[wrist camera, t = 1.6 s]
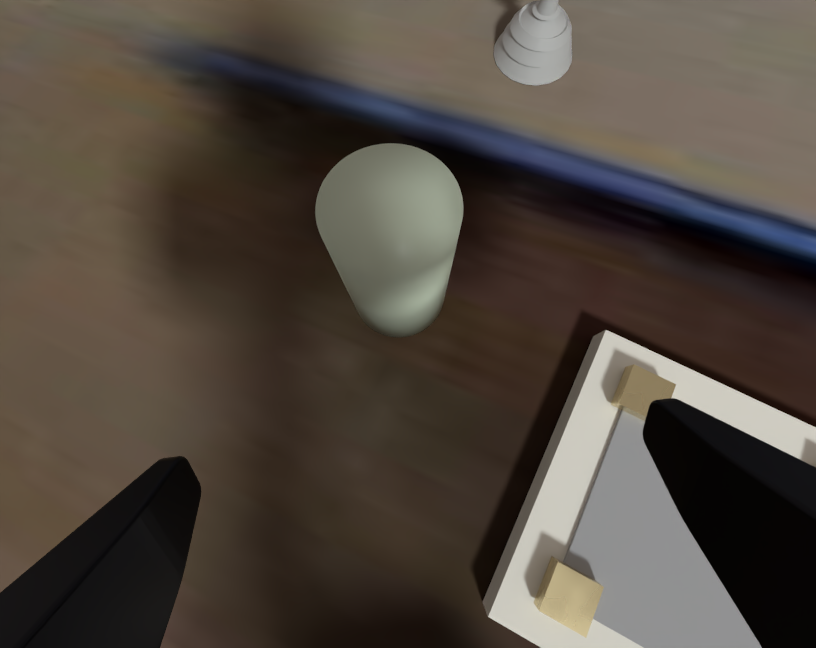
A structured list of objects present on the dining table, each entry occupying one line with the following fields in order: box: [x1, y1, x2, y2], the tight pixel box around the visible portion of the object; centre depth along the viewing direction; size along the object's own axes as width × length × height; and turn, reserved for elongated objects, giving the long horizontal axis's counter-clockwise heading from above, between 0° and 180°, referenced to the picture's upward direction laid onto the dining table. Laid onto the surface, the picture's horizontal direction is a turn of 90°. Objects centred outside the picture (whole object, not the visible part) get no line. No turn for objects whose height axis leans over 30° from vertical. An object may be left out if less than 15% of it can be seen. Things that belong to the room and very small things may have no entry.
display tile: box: [483, 330, 816, 648], centre depth 18 cm, size 14×14×2 cm
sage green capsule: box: [315, 143, 463, 337], centre depth 18 cm, size 5×5×9 cm
